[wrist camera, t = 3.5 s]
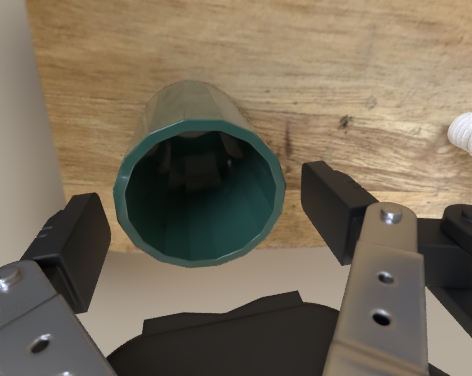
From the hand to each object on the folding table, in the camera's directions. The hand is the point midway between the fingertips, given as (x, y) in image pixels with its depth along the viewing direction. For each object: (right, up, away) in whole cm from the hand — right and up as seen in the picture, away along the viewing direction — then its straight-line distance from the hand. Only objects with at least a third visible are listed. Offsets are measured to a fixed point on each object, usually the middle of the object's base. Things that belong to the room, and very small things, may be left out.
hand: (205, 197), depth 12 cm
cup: (-2, +4, +7) cm, 8 cm away
